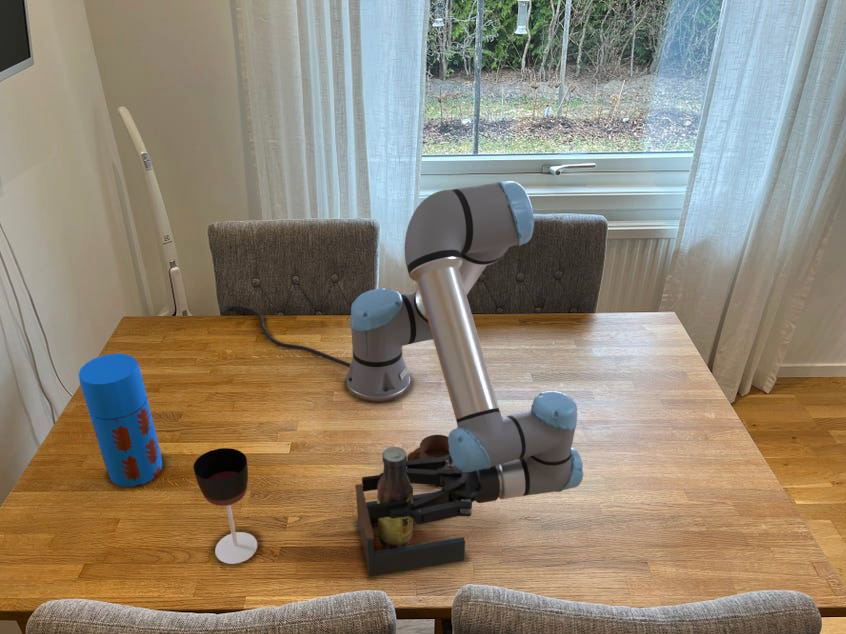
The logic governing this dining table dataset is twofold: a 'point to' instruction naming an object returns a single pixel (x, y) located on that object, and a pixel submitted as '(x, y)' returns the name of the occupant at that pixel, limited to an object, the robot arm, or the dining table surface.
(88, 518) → the dining table surface
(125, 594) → the dining table surface
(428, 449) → the cup and saucer
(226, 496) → the wineglass
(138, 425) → the thermos
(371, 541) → the caddy
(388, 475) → the sauce bottle
